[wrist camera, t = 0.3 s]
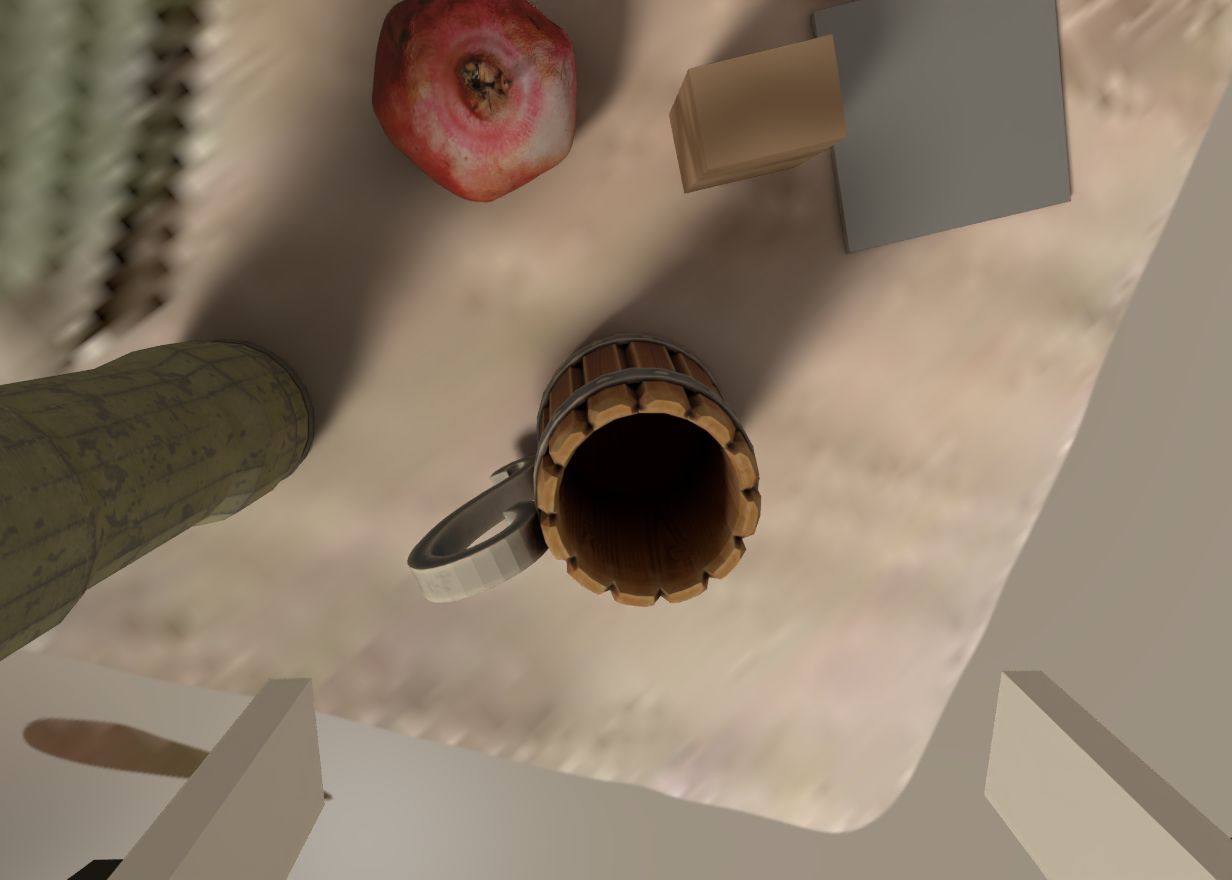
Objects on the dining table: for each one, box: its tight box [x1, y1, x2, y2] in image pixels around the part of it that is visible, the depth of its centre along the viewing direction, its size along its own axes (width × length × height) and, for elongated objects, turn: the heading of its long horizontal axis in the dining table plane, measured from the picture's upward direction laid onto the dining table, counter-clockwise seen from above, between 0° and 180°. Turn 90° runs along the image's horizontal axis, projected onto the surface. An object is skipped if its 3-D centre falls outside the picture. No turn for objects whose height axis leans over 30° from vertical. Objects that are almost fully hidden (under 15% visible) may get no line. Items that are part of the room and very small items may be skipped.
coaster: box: [811, 0, 1071, 253], centre depth 37 cm, size 12×12×1 cm
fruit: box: [372, 0, 577, 202], centre depth 31 cm, size 9×10×10 cm
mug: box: [407, 334, 761, 607], centre depth 33 cm, size 16×11×15 cm
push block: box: [669, 34, 847, 193], centre depth 33 cm, size 4×6×8 cm, turn 103°
